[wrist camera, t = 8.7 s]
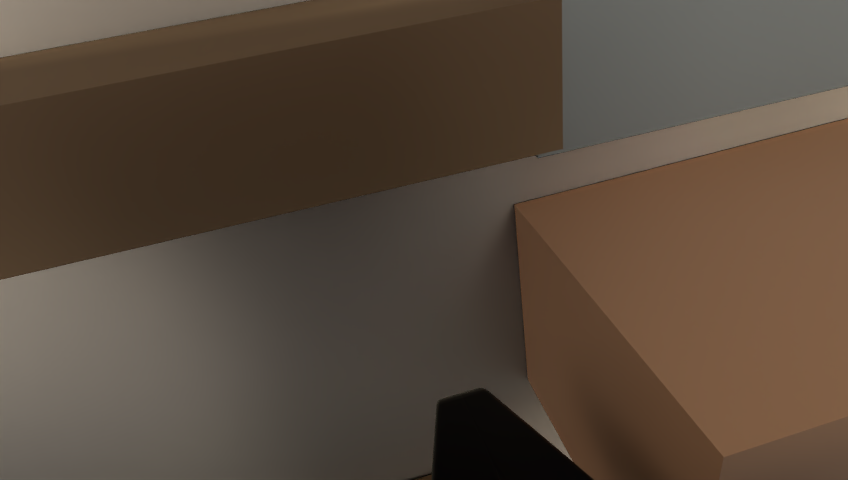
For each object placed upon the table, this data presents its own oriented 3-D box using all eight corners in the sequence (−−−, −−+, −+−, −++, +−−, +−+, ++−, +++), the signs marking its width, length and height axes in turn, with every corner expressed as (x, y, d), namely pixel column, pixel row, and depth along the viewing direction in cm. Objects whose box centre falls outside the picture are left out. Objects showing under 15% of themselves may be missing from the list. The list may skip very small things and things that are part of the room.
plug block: (877, 275, 12) (1196, 468, 8) (527, 379, 11) (682, 660, 7) (938, 95, 10) (1415, 229, 6) (514, 204, 9) (724, 456, 5)
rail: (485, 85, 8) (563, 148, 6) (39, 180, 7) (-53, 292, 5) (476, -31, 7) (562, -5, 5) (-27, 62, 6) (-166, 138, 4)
